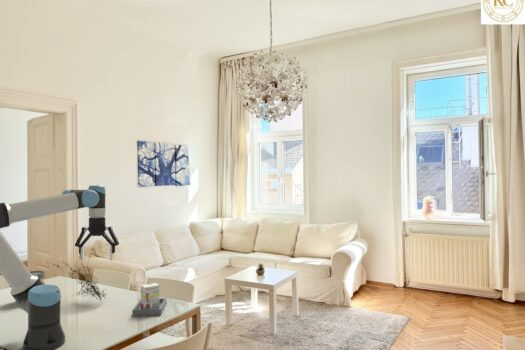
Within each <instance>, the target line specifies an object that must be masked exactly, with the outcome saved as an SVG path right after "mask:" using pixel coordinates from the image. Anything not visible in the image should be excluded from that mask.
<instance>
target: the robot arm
mask: <svg viewBox="0 0 525 350" xmlns="http://www.w3.org/2000/svg"><path fill="white" fill-rule="evenodd" d="M106 195H107V194H106V187H105V185H98V184H96V185H94V184H93V185H89V186H88V188H87V189H66V190H65V189H64V190H63V191H62V193H61V194H57V195H53V196H47V197H46V196H45V197H41V198H36V199H30V200H25V201H20V202H14V203H13V202H12V203H8V204H7V203H6V202H0V229H5V228H8V227H10V226H11V225H12V224H14V223H19V222H24V221H28V220H32V219H38V218H41V217H45V216H46V217H47V216H50V215H54V214H55V215H56V214H61V213H65V212H69V211H74V210H79V209H83V208H84V209H85V208H88V217H89V218H88V227H86V226H83V227H81V231H80V233H79V236H78V237H77V239H76V242H75V243H74V247H77V248H78V254H79V255H81V256H80V257H81V259H80V262H81V261H82V262H83V261H85V257H86V255H85V250H86V249H85V245H86V243H87V242H88V241H89V240H90V239H91V237H102V238H104V240H105V241H106V242H107V243H108V244H109V245H110V247H109V261H110V262H111V261H113V260H114V254H115V253H116V247H117V246H119V245H120V242H119V240H118V238H117V236H116V234H115V232H114V230H113V226H112V225H111V226H106V217H105V216H106ZM87 231H88V234H87V235H86V237H85V238H84V236H85V234H86V232H87ZM106 231H107V232H108V233H109V234H107V233H106ZM108 235H110V237H111V238H110V237H109V236H108ZM83 238H84V239H83ZM82 239H83V240H82ZM30 272H31V271H29V269H28V268H27V266H26V265H25V263H24V262H23V260H22V259H21V258H20V256H19V255H18V254H17V252H16V251H15V250H14V248H13V247H12V246H11V244H10V243H9V241H8V240H7V239H6V237H5V236H4V234H3V233H2V231H0V275H1V276H2V278H3V279H4V280H5V281H6V283H7V284H8V285H9V287H10V288H11V289H10V292H9V293H10V295H11V296H12V298H13V299H14V301H15V302H16V305H17V306H18V308H19V309H21V310H22V311H24V312H26V313H27V330H26V334H25V335H24V339H23V343H22V350H54V349H57V348H59V347H62V345H64V344H65V343H66V335H65V332H64V330H63V326H62V324H61V301H62V298H61V297H62V293H61V289H60V287H59V286H57V285H55V284H48V283H46V284H45V283H44V284H43V283H42V281H41V280H40V279H39V277H38V276H36V275H31V273H30Z"/></svg>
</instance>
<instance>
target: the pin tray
mask: <svg viewBox="0 0 525 350" xmlns="http://www.w3.org/2000/svg"><path fill="white" fill-rule="evenodd" d="M167 299H168V298H167V297H162V298H161V297H159V307H157V308H153V309H152V302H150V309H146V302H144V309H141V298H140V299H139V300H138V301H137V303H136V304H135V306H134V307H133V309H132V317H139V316H140V317H141V316H162V314H163V312H164V310H165V307H166V306H167Z"/></svg>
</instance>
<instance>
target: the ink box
mask: <svg viewBox="0 0 525 350" xmlns="http://www.w3.org/2000/svg"><path fill="white" fill-rule="evenodd" d="M159 298H160V284H159V283H157V282H154V283H149V284H148V283H146V284H142V285H141V286H140V299H141V309H144V302H146V309H150V302H152V309H153V308H157V307H159Z"/></svg>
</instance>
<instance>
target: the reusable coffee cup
mask: <svg viewBox="0 0 525 350" xmlns="http://www.w3.org/2000/svg"><path fill="white" fill-rule="evenodd" d="M29 272H30V273H31V275H36V276H38V277H39V279H40V280H41V281H42V283H43V284H44V285H45V283H46V282H45V277H46V272H45V271H44V270H31V271H29Z"/></svg>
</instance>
